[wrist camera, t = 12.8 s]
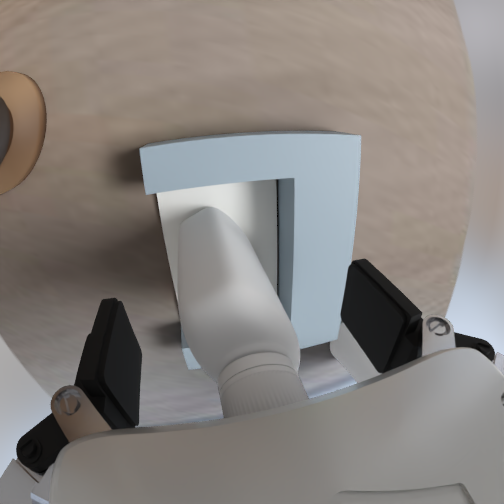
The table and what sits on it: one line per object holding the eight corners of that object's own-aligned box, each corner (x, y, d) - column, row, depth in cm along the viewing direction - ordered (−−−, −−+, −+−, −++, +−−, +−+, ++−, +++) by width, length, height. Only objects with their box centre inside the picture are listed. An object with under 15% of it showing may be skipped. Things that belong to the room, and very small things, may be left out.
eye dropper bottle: (184, 296, 16) (208, 504, 6) (178, 205, 14) (177, 445, 3) (255, 291, 17) (335, 477, 7) (261, 202, 15) (410, 389, 4)
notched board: (147, 143, 12) (139, 148, 10) (336, 131, 14) (361, 135, 12) (186, 342, 18) (188, 369, 16) (322, 317, 20) (337, 339, 18)
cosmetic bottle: (339, 309, 20) (496, 553, 1) (396, 299, 21) (546, 488, 2) (321, 362, 23) (431, 570, 4) (375, 349, 24) (488, 522, 5)
